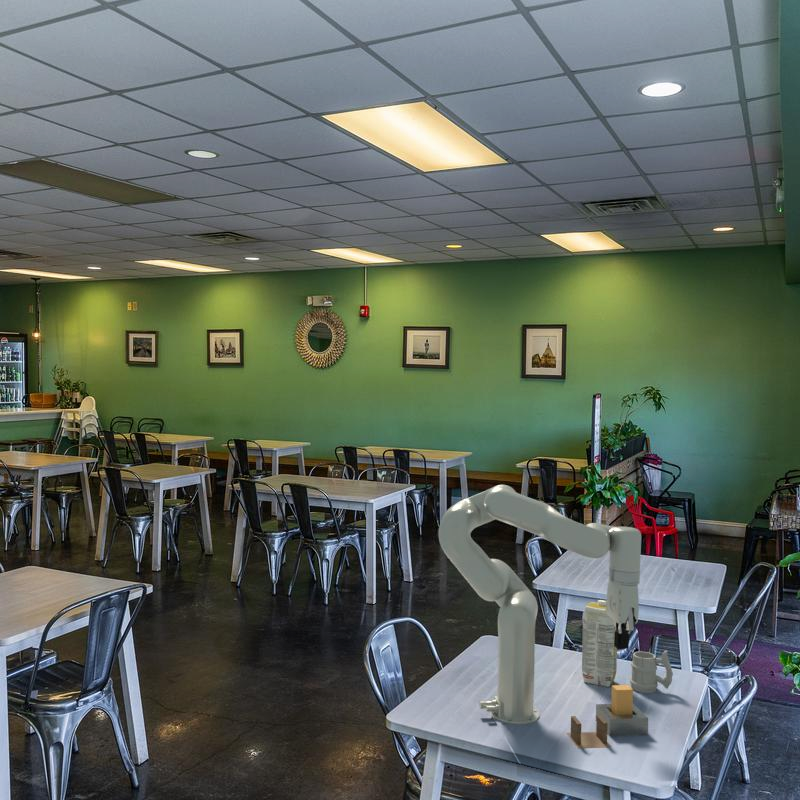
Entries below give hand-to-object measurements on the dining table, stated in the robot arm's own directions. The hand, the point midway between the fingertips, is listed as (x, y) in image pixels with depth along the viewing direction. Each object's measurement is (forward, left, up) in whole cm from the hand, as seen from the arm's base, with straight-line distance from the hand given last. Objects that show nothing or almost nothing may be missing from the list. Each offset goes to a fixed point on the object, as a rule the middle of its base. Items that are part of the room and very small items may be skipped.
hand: (621, 647), depth 189 cm
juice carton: (+7, +32, -21) cm, 39 cm away
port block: (0, 0, -21) cm, 21 cm away
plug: (0, 0, -20) cm, 20 cm away
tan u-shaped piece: (-11, -6, -21) cm, 24 cm away
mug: (+20, +25, -21) cm, 39 cm away
